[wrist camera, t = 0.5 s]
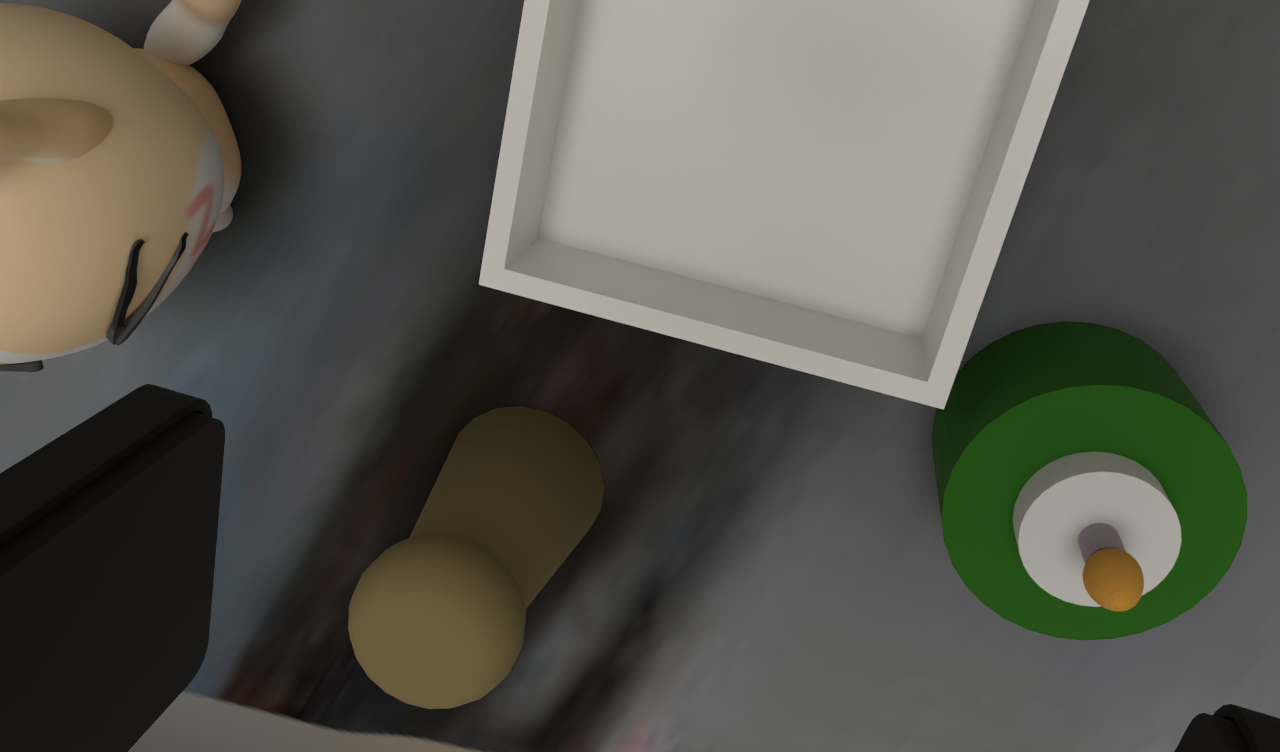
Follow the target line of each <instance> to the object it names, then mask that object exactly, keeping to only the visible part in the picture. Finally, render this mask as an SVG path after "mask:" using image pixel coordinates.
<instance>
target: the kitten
mask: <svg viewBox="0 0 1280 752" xmlns="http://www.w3.org/2000/svg"><path fill="white" fill-rule="evenodd" d="M241 1H242V0H172V1H171V2H170V3H169V5H168V6H167V7H166V8H165V9H164V10H163V11H162V12H161V13H160V14H159V15H158V17H157V18H156V19H155V21H154V22H153V23H152V25H151V27H150V30H149V31H148V33H147V36H146V40H145V43H144V49H140V48H132V47H130V46H129V45H128V44H126V43H125V42H123V41H122V40H120V39H119V38H117V37H116V36H114V35H112V34H111V33H109V32H107V31H105V30H103V29H102V28H100V27H98V26H96V25H93V24H91V23H89V22H87V21H84V20H82V19H79V18H77V17H74V16H71V15H68V14H65V13H62V12H59V11H55V10H51V9H47V8H42V7H37V6H31V5H23V4H13V3H0V371H16V372H22V371H27V372H37V371H40V370H42V369H43V368H44V367H43V363H42V360H44V359H50V358H55V357H59V356H63V355H67V354H71V353H75V352H78V351H82V350H85V349H88V348H91V347H93V346H96V345H98V344H101V343H103V342H105V341H107V340H109V341H110V342H111V343H112V344H113V345H115V344H116V345H117V346H118V345H120V344H121V343H123V342H124V341H125V340H126V339H127V338H128V337H129V336H130V335H131V333H132V332H133V331H134V330H135V329H136V328H137V326H138V325H139V324H140V323H141V321H142V320H143V319H144V318H145V317H146V316H148V315H149V314H150V313H151V312H152V311H154V310H155V309H156V308H157V307H158V306H159V305H160V304H161V303H162V302H163V301H164V300H165V299H166V298H167V297H168V296H169V295H170V294H171V293H172V292H173V291H174V290H175V288H176V287H177V286H178V285H179V284H180V283H181V281H182V280H183V279H184V278H185V276H186V275H187V274H188V273H189V271H190V270H191V268H192V267H193V266H194V264H195V263H196V261H197V260H198V258H199V257H200V255H201V253H202V252H203V250H204V248H205V247H206V245H207V243H208V241H209V239H210V237H211V235H212V233H213V232H217V231H220V230H222V229H224V228H226V227H227V226H228V225H229V224H230V223H231V221H232V218H233V210H232V207H231V205H230V204H231V202H232V200H233V198H234V196H235V194H236V192H237V189H238V186H239V183H240V178H241V157H240V152H239V148H238V144H237V141H236V138H235V135H234V132H233V129H232V127H231V124H230V121H229V119H228V116H227V114H226V111H225V109H224V107H223V104H222V102H221V100H220V98H219V97H218V95H217V93H216V91H215V90H214V88H213V87H212V86H211V84H210V83H209V82H208V81H207V80H206V78H205V77H204V76H202V75H201V74H200V73H199V72H198V71H197V70H195V69H194V68H193V67H191V66H190V65H191V64H192V63H194V62H196V61H198V60H199V59H201V58H202V57H204V56H205V55H206V54H207V53H209V52H210V51H211V50H212V49H213V48H214V47H215V46H216V45H217V43H218V42H219V41H220V39H221V38H222V36H223V34H224V32H225V30H226V27H227V25H228V23H229V21H230V20H231V18H232V17H233V16H234V14H235V13H236V11H237V10H238V8H239V5H240V3H241Z"/></svg>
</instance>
